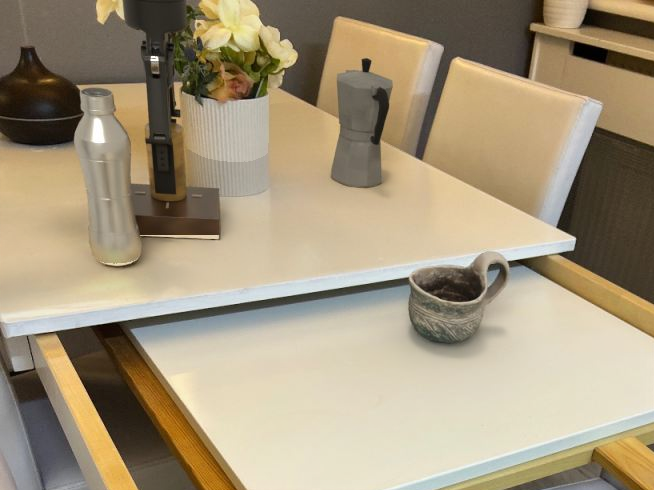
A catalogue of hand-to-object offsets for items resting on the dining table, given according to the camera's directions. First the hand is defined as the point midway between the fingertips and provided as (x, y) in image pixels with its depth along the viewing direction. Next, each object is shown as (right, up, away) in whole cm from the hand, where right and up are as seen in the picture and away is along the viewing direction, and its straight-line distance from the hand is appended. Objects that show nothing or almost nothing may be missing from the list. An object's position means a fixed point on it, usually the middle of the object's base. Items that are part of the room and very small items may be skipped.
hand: (167, 179), depth 109 cm
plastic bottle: (-4, -14, -8) cm, 17 cm away
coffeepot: (+26, +9, +22) cm, 35 cm away
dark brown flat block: (0, -5, +2) cm, 6 cm away
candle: (0, -1, +1) cm, 2 cm away
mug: (+39, -24, -12) cm, 47 cm away
